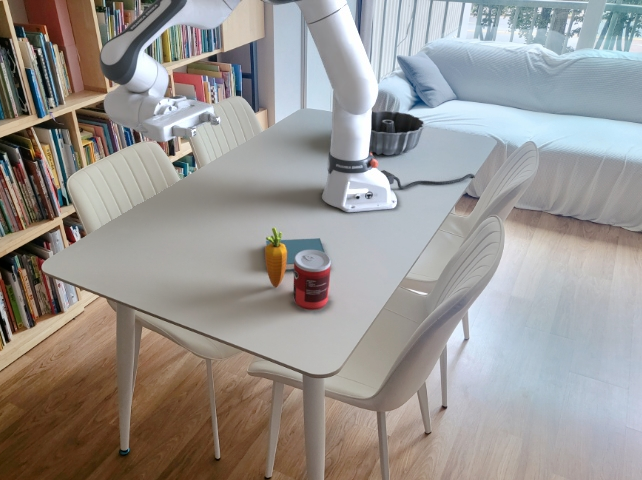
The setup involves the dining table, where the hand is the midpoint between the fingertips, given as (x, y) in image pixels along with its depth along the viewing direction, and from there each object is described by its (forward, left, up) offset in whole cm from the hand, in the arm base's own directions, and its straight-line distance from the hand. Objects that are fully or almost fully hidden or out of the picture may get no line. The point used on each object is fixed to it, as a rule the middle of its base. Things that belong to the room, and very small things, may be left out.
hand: (206, 126), depth 121 cm
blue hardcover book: (-21, +9, -30) cm, 38 cm away
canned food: (-24, +27, -30) cm, 47 cm away
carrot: (-16, +22, -30) cm, 41 cm away
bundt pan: (-56, -68, -30) cm, 93 cm away
